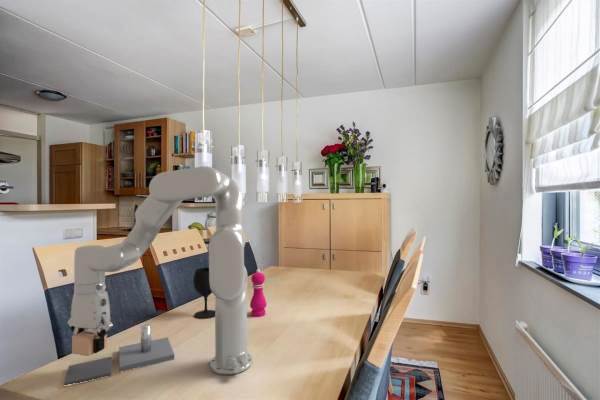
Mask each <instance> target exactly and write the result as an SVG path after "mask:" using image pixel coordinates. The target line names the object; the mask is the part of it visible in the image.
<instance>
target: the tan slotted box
mask: <svg viewBox="0 0 600 400" xmlns="http://www.w3.org/2000/svg"><path fill="white" fill-rule="evenodd" d="M100 331H101V330H100V329H98V332H100ZM93 339H95V336H94V332H93V329H85V331H83V332H80V333H78V334H76V335H73V334H72V335H71V354H72V355H78V356H79V355H80V356H87V357H90V356H92V355H93V354H95V353H93ZM107 339H108V333H107V334H106V336H104V349H105V348H107V347H108V346H107V345H108V343H107V342H108V340H107Z"/></svg>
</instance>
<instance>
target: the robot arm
mask: <svg viewBox="0 0 600 400" xmlns="http://www.w3.org/2000/svg"><path fill="white" fill-rule="evenodd" d="M148 190H149V195H148V196H147V197H146V199H144V201H143V202H142V203H141V204H140V205H139V207H138V208H137V209H136V210H135V213H134V216H135V223H134V226H133V227H132V229H131V231H130V232H129V233H128V235H127V236H126V237H125V238H124V239H123V240H122V241H121V242H120V243H117V244H113V245H110V246H109V245H107V246H103V245H99V244H92V245H81V246H78V247H76V248H75V250H74V262H73V263H74V267H73V268H74V269H73V272H74V279H73V280H74V283H73V284H74V285H73V287H74V288H73V289H74V291H73V296H72V300H71V308H70V309H71V310H70V318H69V319H68V320H67V325H69V327H70V330H71V332H73V333H72V336H73V335H76V334H78V333H80V332H83V331H85V330H87V329H93V332H94V336H95V339H93V353H94V354H97V353H99V352H101V351H103V350H104V349H105V348H104V336H106V334H107V335H108V332H110V330H111V329H112V328H113V326H114V324H113V322H112V321H111V305H110V300H109V294H108V291H107V290H106V289H107V285H106V273H115V272H119V271H121V270H124V269H125V268H127V267H130V266H132V265H134V264H135V263H137V262H138V261H139V259H140V258H141V257H142V256H143V255H144V253H146V251H147V250H148V249H149V247H150V246H151V245H152V243H153V242H154V241H155V239H156V237H157V236H158V234H159V232H160V231H161V228H162V227H163V225H164V224H165V223H166V222H167V221H168V219H169V218H170V217H171V216H172V214H173V213H174V212H175V211H176V210H177V208H178V207H179V206H180V205H181V204H182V202H183V201H187V200H192V199H198V198H205V197H209V198H212V199H214V201H215V231H214V232H213V233H212V235H211V236H210V239H209V245H208V268H209V283H210V288H211V291H212V293H211V294H213V296H214V297H215V303H214V308H215V309H214V310H215V317H214V318H215V319H214V320H215V321H214V323H215V324H214V325H215V327H214V330H215V331H214V333H215V334H214V336H215V338H214V340H215V341H214V342H215V343H214V344H215V346H214V349H215V351H214V352H215V355H214V357H213V358H212V359H211V360H210V363H209V368H210V370H211V371H212V372H213V373H216V374H220V375H227V376H228V375H229V376H230V375H236V374H239V373H241V372H244V371H246V370H248V369H249V368H250V367H251V366H252V364H253V356H252V355H251V354H250V353H248V281H249V280H248V278H249V277H248V276H249V275H248V271H247V268H246V265H245V246H246V240H247V239H246V235H245V234H246V232H245V213H244V212H245V210H244V197H243V193H242V191H241V188H240V186H239V184H237V182H236V181H235V180H234V179H233V178H232V177H230V176H229V175H226V174H225V173H223V172H221V171H219V169H216V168H215V167H212V166H206V165H205V166H196V167H190V168H185V169H177V170H169V171H163V172H160V173H158V174H156V175H155V176H154V177H152V178H151V180H150V182H149V185H148ZM98 329H100V330H101V331H100V332H98Z"/></svg>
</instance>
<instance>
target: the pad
mask: <svg viewBox="0 0 600 400" xmlns="http://www.w3.org/2000/svg"><path fill="white" fill-rule="evenodd" d="M112 369H113V356H108V357H103V358H99V359H94V360H88V361H84V362H81V363H80V362H79V363H75V364H70V365H68V367H67V371H66V373H65V374H66V375H65V378H64V381H63V386H64V385H68V384H73V383H80V382H84V381H88V382H90V381H89V380H92V379H97V378H101V377H105V376H109V377H111V376H110V375H112V372H113V370H112ZM112 376H113V375H112ZM105 378H106V377H105ZM101 379H102V378H101ZM97 380H98V379H97ZM84 383H85V382H84ZM80 384H81V383H80Z"/></svg>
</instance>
